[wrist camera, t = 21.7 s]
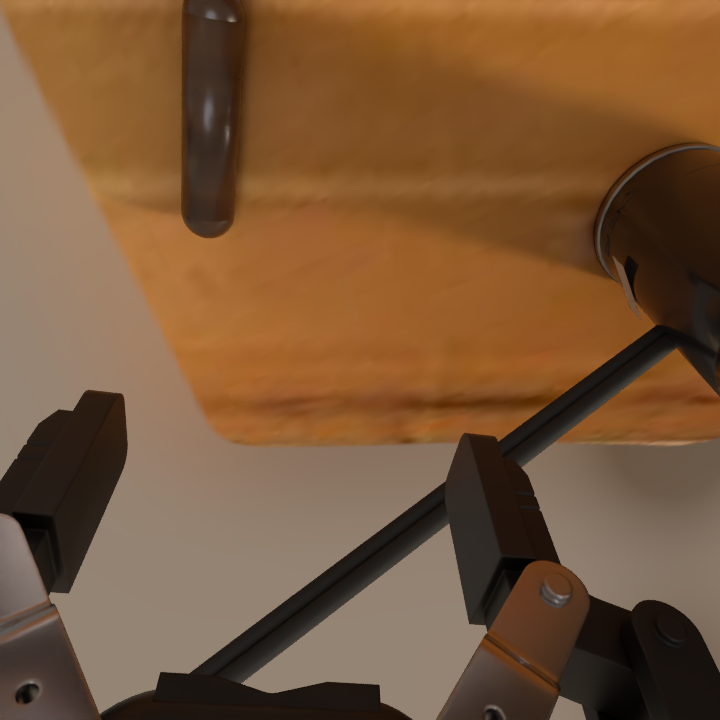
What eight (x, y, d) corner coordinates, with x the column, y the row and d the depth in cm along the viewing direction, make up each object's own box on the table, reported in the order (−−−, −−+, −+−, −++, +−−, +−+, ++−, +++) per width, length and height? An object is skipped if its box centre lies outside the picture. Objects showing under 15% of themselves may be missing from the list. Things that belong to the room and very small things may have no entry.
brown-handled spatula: (239, 231, 36) (232, 250, 33) (184, 222, 36) (172, 241, 33) (265, -188, 25) (257, -205, 23) (186, -207, 25) (169, -226, 22)
